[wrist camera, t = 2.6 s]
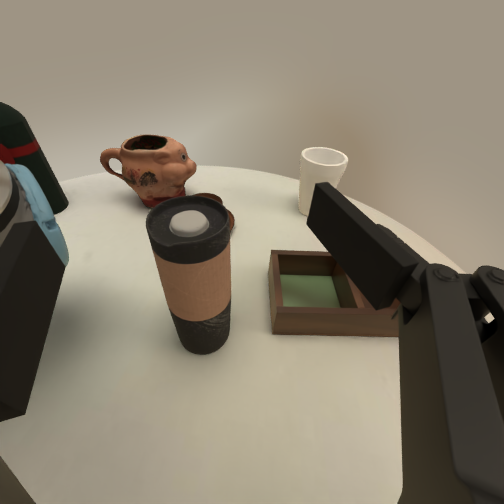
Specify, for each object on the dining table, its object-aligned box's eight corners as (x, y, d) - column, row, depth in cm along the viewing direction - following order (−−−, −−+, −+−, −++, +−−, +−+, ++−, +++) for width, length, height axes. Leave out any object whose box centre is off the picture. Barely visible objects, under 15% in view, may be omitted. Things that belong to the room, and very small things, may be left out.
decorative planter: (105, 215, 56) (78, 152, 46) (120, 187, 65) (100, 129, 55) (198, 214, 58) (192, 152, 48) (201, 187, 67) (195, 130, 57)
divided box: (268, 272, 46) (271, 249, 42) (394, 276, 47) (408, 254, 43) (272, 334, 37) (276, 312, 33) (427, 337, 38) (449, 316, 34)
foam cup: (333, 223, 58) (351, 168, 49) (292, 219, 58) (302, 163, 49) (328, 200, 65) (343, 149, 56) (291, 197, 65) (301, 145, 56)
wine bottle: (12, 224, 52) (-130, 28, 32) (38, 197, 60) (-63, 25, 39) (53, 223, 53) (-59, 32, 33) (74, 197, 60) (-7, 28, 40)
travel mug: (225, 303, 41) (221, 190, 27) (237, 348, 35) (239, 236, 22) (175, 314, 39) (143, 198, 25) (180, 363, 33) (143, 250, 20)
